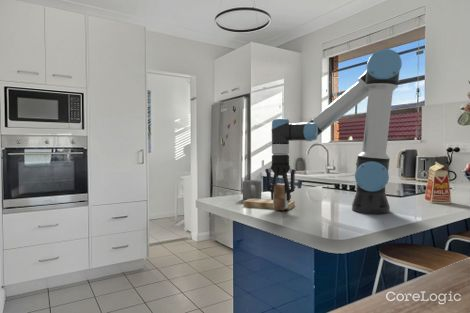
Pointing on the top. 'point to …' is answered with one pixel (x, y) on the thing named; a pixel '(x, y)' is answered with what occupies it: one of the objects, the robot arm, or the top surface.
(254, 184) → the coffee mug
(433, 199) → the milk carton
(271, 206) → the oak board
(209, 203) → the top surface
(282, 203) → the block
